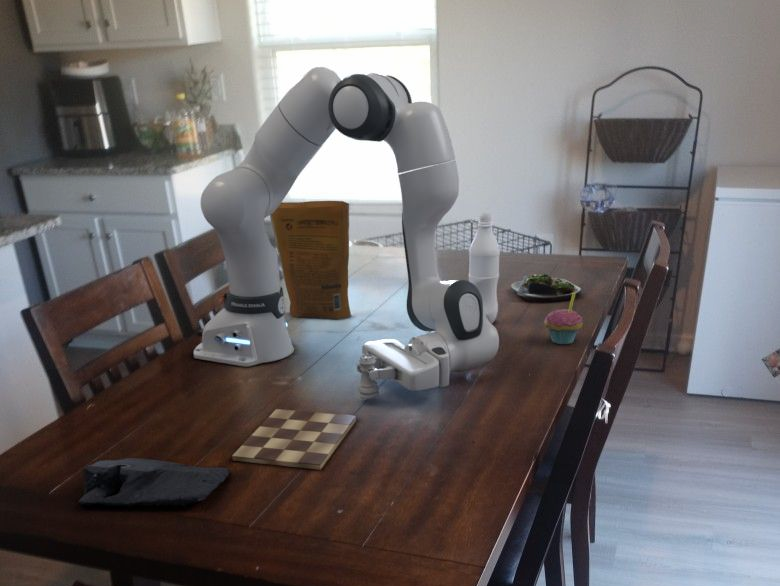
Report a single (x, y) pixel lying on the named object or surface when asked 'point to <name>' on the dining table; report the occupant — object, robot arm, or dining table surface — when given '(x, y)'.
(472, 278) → the water bottle
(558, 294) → the salad plate
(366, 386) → the rook chess piece
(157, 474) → the dark slate chunk
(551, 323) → the cupcake
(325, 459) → the chessboard
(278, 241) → the pancake mix bag
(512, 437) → the dining table surface
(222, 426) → the dining table surface
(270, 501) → the dining table surface
